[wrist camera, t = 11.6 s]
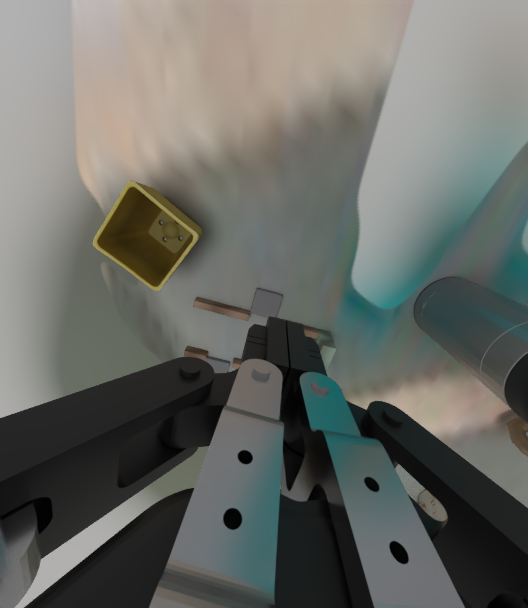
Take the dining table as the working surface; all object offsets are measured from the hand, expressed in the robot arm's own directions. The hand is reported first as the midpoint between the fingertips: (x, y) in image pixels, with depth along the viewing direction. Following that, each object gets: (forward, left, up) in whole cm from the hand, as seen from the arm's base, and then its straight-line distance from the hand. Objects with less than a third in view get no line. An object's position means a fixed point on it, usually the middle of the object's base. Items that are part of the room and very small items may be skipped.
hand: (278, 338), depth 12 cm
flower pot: (+14, +2, -28) cm, 32 cm away
